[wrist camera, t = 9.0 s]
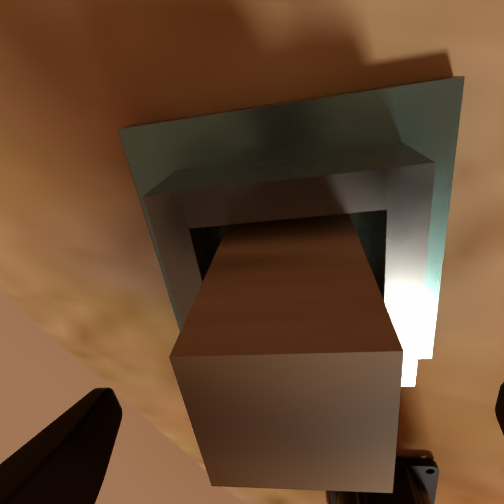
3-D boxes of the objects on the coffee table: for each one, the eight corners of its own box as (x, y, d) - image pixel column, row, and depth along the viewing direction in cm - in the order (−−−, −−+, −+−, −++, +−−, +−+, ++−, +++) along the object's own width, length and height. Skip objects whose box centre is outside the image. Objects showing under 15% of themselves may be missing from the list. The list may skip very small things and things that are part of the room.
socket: (425, 346, 17) (460, 418, 13) (194, 353, 19) (170, 418, 15) (454, 76, 11) (525, 76, 8) (127, 126, 13) (67, 144, 10)
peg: (346, 297, 15) (392, 493, 8) (248, 302, 16) (211, 485, 9) (344, 202, 13) (403, 350, 6) (233, 213, 14) (169, 356, 7)
